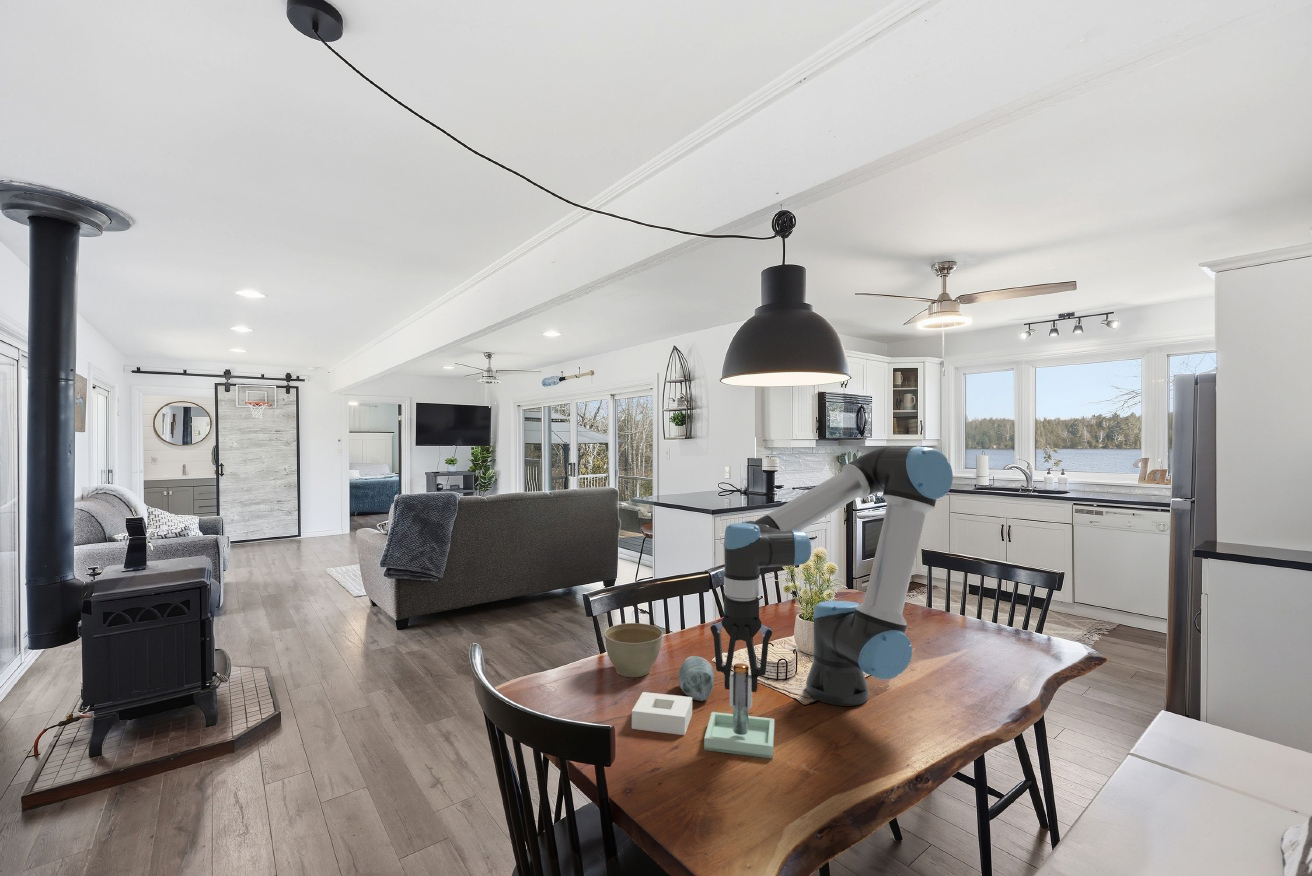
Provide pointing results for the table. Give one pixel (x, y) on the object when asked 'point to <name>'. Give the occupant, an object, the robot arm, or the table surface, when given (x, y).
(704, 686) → the blue-grey stone
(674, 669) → the table surface
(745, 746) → the tray
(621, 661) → the planter bowl
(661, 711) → the socket block
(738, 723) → the pin
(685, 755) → the table surface
